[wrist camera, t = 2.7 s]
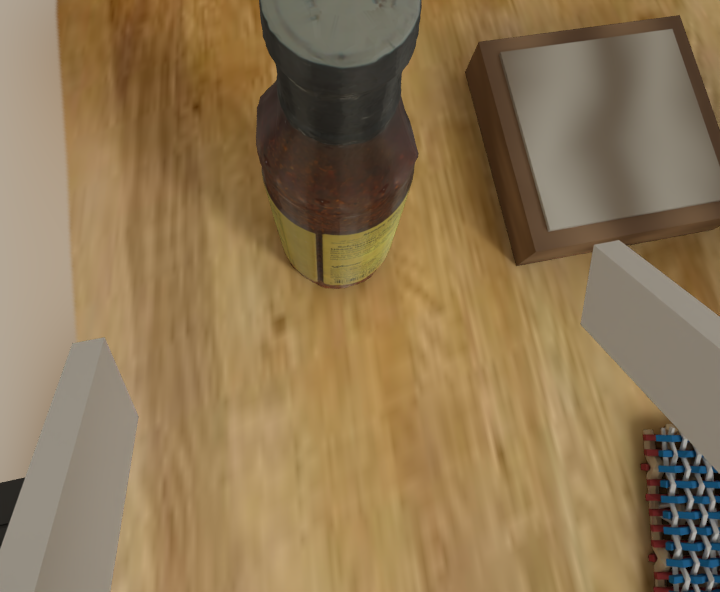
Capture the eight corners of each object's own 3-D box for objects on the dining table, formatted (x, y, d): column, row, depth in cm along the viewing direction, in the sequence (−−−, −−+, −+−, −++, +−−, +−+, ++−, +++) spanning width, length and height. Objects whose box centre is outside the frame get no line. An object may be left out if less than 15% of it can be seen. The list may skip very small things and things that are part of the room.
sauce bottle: (400, 210, 34) (521, -65, 14) (369, 307, 32) (457, 150, 13) (296, 175, 34) (276, -148, 14) (261, 272, 32) (185, 60, 13)
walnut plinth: (650, 46, 38) (682, 12, 34) (712, 229, 35) (751, 211, 32) (465, 72, 36) (479, 39, 33) (516, 266, 34) (537, 250, 30)
